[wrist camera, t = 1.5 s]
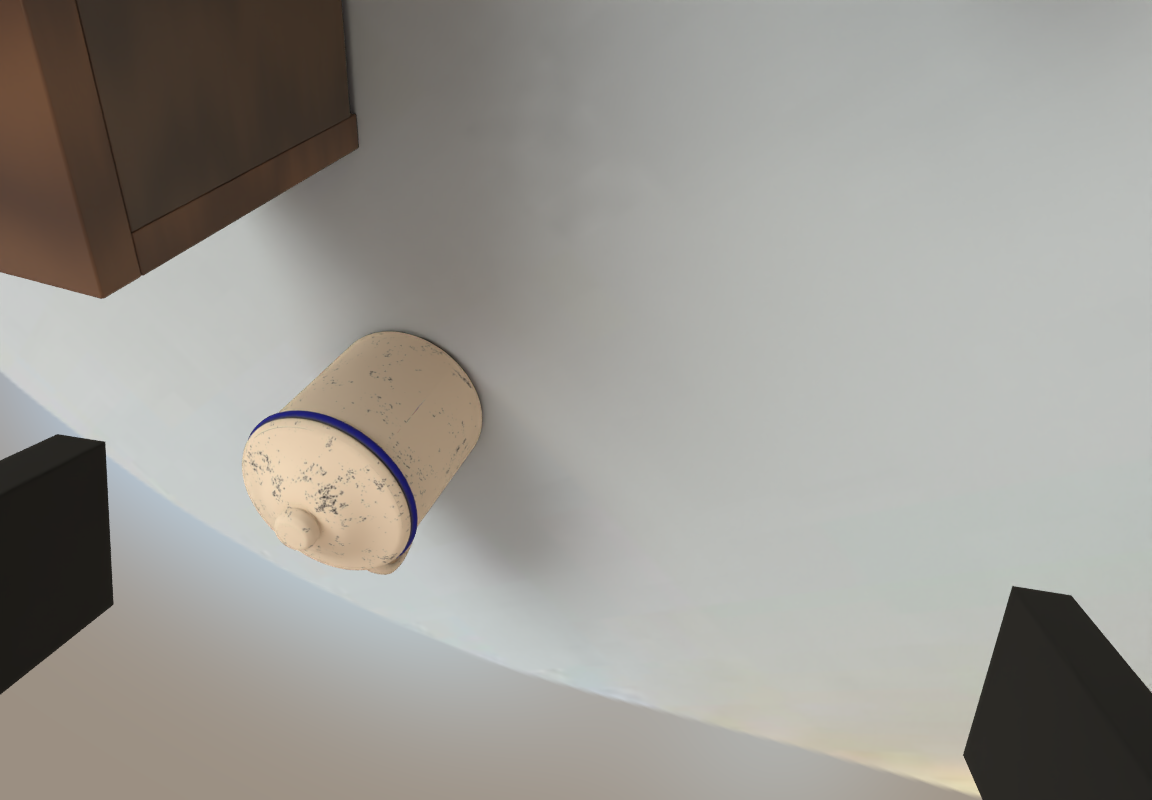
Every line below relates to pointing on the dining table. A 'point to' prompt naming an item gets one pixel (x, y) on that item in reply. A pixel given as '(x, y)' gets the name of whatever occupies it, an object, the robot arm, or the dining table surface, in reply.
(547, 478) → the dining table surface
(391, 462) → the teacup with lid
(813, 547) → the dining table surface
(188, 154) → the shelf
